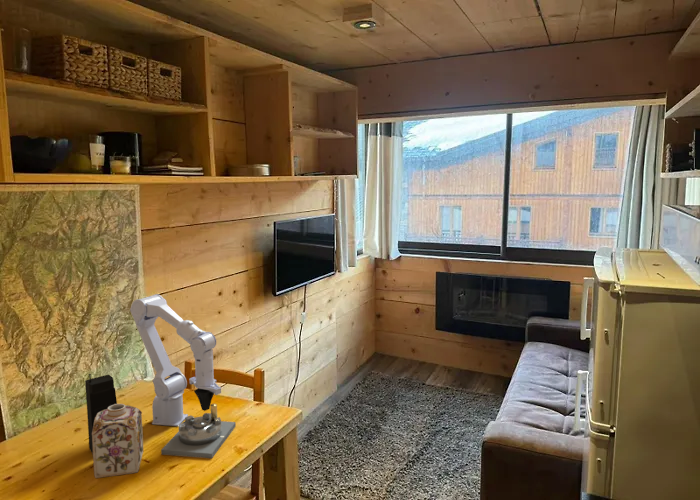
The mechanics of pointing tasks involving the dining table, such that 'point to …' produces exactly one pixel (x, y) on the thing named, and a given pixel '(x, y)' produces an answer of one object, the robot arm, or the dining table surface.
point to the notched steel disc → (200, 428)
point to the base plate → (202, 450)
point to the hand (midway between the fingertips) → (205, 409)
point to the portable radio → (98, 399)
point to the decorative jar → (117, 441)
